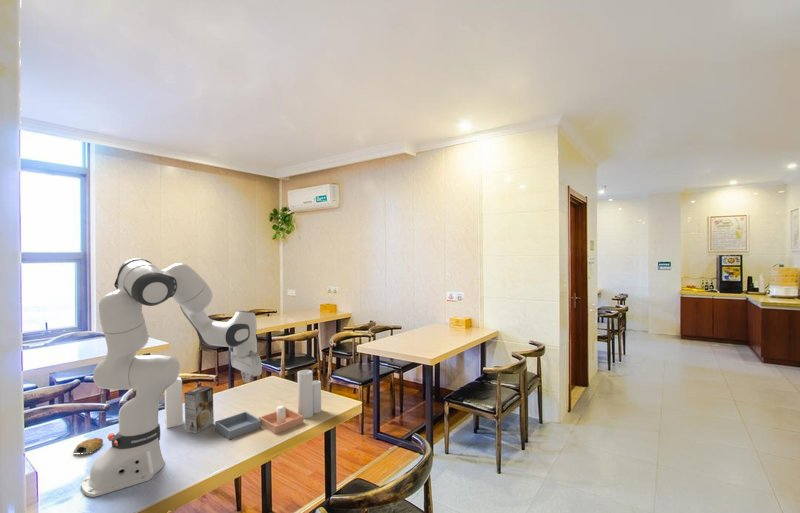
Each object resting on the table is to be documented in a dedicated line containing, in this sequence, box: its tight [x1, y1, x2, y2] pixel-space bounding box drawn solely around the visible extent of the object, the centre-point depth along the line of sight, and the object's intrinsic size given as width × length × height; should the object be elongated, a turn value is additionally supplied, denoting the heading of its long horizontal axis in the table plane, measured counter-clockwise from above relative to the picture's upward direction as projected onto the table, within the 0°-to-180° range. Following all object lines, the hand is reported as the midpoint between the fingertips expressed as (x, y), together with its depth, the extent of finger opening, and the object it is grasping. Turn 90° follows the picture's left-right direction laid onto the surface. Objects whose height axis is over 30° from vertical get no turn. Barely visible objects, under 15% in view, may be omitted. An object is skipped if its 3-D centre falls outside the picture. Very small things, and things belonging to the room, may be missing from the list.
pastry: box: [72, 437, 104, 455], centre depth 145 cm, size 9×7×4 cm
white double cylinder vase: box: [297, 369, 322, 420], centre depth 174 cm, size 11×7×20 cm, turn 151°
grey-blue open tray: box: [214, 411, 262, 441], centre depth 160 cm, size 13×13×4 cm
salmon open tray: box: [258, 407, 304, 435], centre depth 164 cm, size 13×13×4 cm
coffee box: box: [183, 385, 215, 434], centre depth 162 cm, size 9×6×16 cm
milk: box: [164, 376, 184, 429], centre depth 166 cm, size 6×6×22 cm
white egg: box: [276, 405, 286, 425], centre depth 164 cm, size 4×4×7 cm
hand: (246, 381), depth 161 cm, fingers closed
